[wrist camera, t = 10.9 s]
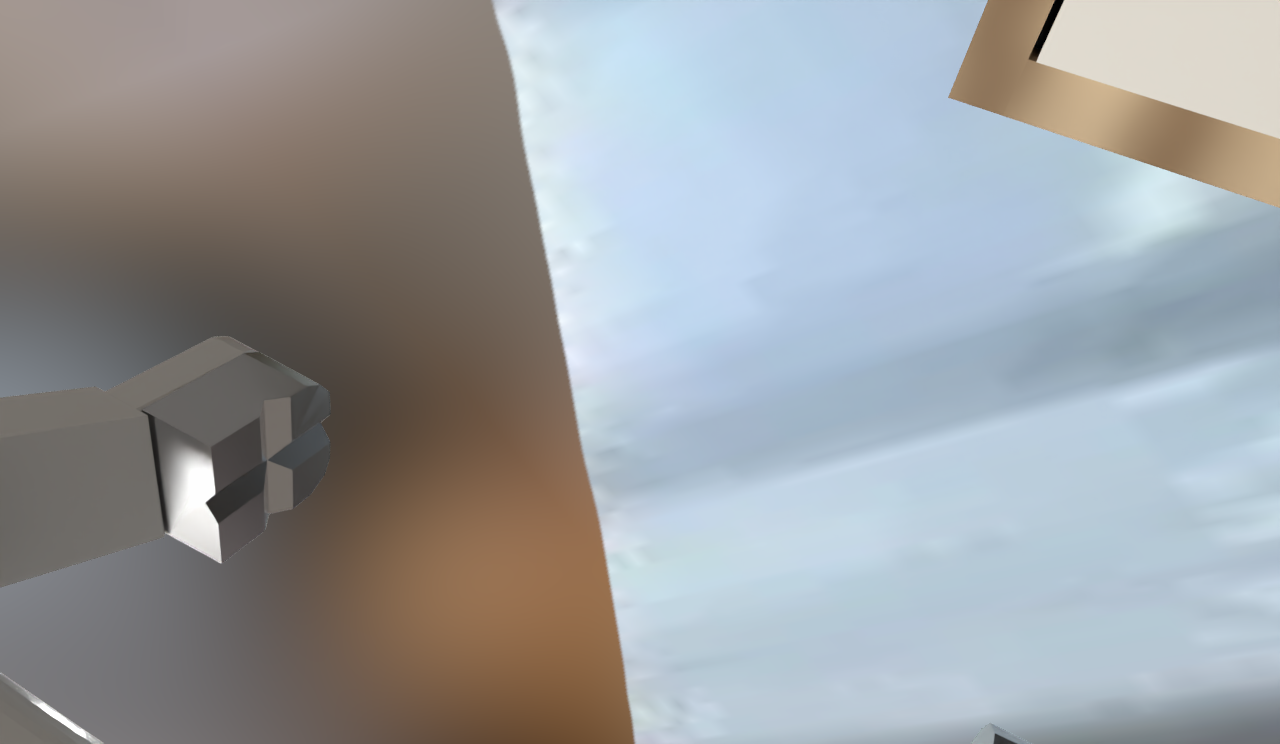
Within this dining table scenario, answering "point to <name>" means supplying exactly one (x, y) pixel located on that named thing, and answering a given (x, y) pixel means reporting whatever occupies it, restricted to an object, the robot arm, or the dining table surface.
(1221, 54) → the ivory key
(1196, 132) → the key console
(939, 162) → the dining table surface
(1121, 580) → the dining table surface
